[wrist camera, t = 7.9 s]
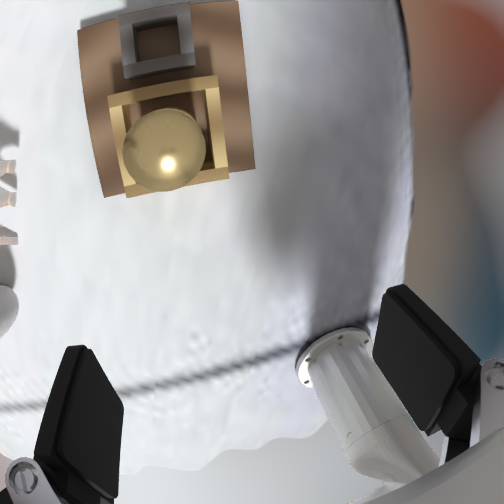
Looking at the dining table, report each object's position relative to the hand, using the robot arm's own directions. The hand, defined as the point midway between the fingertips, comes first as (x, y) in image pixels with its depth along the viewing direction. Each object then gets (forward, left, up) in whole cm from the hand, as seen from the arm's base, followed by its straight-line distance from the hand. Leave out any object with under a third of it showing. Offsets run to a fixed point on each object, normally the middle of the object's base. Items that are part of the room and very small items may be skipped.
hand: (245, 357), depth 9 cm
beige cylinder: (+5, +2, -21) cm, 21 cm away
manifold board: (+8, +2, -22) cm, 23 cm away
